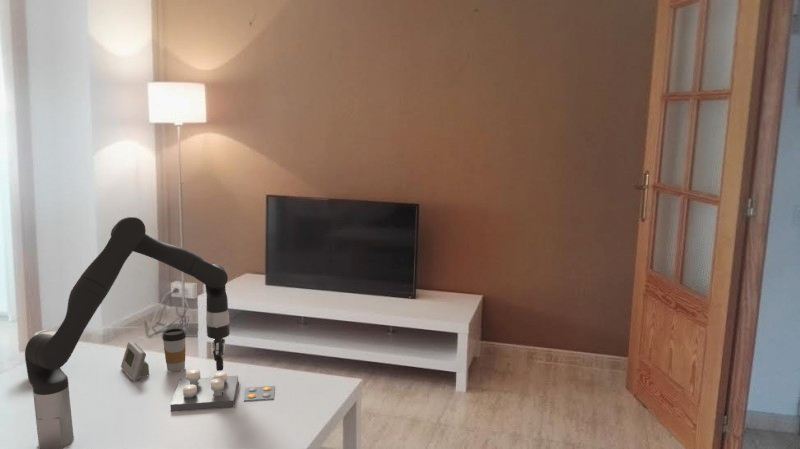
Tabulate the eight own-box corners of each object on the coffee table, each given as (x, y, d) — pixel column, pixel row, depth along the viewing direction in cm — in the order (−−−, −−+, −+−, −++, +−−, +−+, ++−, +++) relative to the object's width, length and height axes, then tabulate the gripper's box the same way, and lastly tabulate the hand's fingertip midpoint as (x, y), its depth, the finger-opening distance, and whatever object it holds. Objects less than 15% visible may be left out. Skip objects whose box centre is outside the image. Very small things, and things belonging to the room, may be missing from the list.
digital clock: (121, 368, 247) (118, 341, 245) (146, 364, 251) (144, 337, 249) (123, 384, 233) (121, 356, 231) (150, 380, 237) (148, 352, 235)
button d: (226, 391, 227) (226, 376, 226) (213, 392, 227) (213, 377, 226) (228, 385, 232) (227, 371, 231) (215, 386, 231) (214, 372, 230)
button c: (199, 388, 226) (199, 374, 225) (186, 389, 225) (185, 375, 224) (201, 383, 230) (200, 369, 229) (188, 384, 229) (187, 369, 228)
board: (233, 407, 216) (233, 400, 216) (170, 411, 213) (170, 404, 212) (238, 382, 235) (238, 375, 235) (180, 385, 232) (180, 379, 232)
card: (273, 399, 222) (273, 397, 222) (243, 401, 220) (243, 399, 220) (274, 386, 232) (274, 385, 232) (245, 388, 230) (245, 387, 230)
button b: (224, 398, 218) (223, 383, 217) (210, 399, 218) (209, 384, 217) (225, 392, 223) (224, 378, 222) (212, 393, 222) (211, 378, 221)
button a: (196, 404, 217) (195, 389, 216) (182, 405, 217) (181, 390, 216) (198, 399, 222) (197, 384, 221) (184, 399, 221) (184, 385, 220)
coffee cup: (163, 367, 248) (161, 329, 245) (186, 363, 252) (184, 326, 249) (165, 375, 241) (163, 336, 238) (189, 371, 244) (186, 333, 241)
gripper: (209, 316, 230) (211, 363, 233) (204, 329, 217) (206, 378, 221) (230, 315, 232) (232, 362, 235) (227, 328, 219) (229, 377, 222)
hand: (220, 369), depth 228 cm, fingers closed
